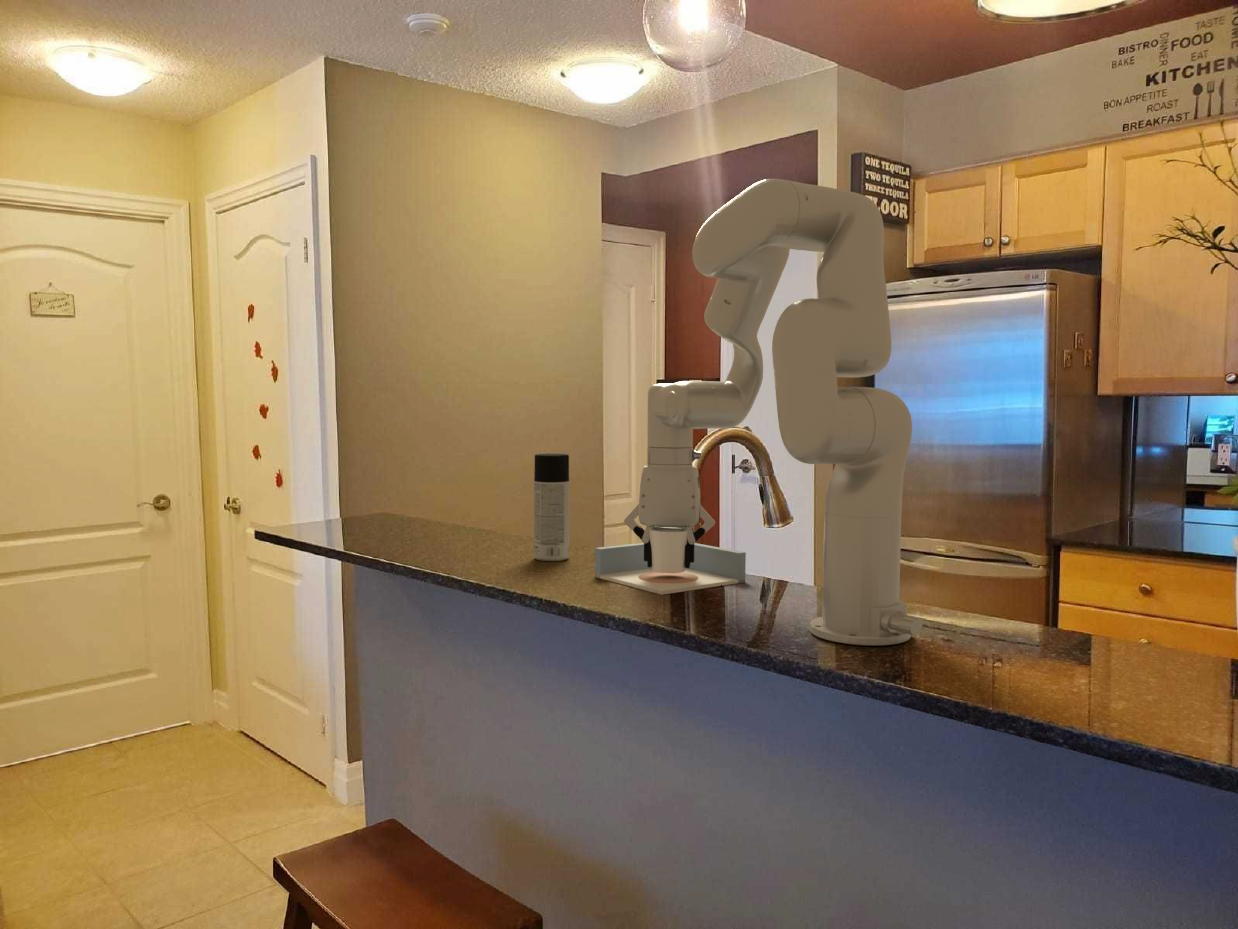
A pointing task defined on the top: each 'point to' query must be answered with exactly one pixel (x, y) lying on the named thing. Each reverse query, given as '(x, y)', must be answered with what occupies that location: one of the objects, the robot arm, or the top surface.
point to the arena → (704, 573)
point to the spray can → (551, 507)
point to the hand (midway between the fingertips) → (669, 565)
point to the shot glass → (668, 549)
